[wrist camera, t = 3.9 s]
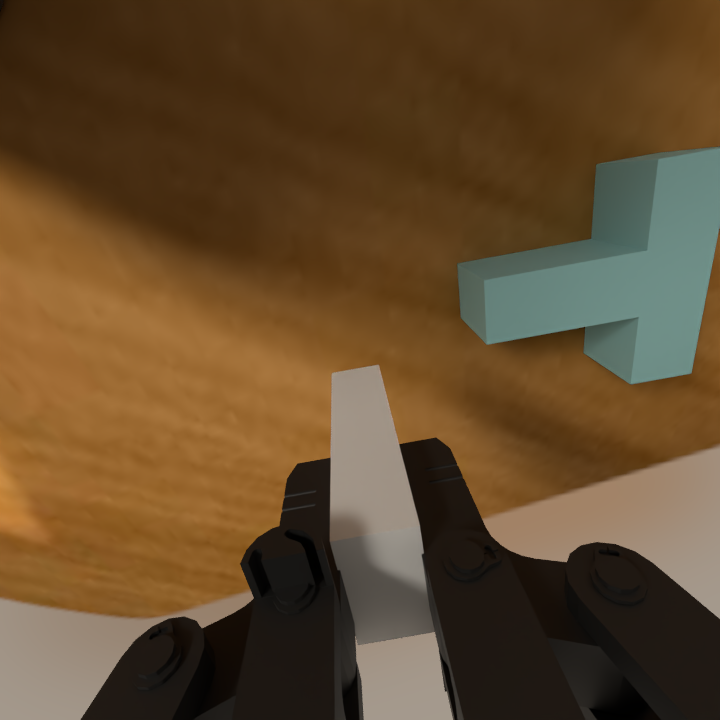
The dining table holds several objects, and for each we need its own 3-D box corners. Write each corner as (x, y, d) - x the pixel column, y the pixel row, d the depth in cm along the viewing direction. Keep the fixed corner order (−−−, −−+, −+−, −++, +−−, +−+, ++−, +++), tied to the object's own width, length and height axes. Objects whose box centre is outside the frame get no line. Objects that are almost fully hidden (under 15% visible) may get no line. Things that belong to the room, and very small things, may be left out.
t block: (464, 374, 23) (489, 409, 20) (452, 190, 19) (480, 192, 16) (634, 343, 23) (691, 373, 19) (658, 152, 19) (735, 145, 15)
